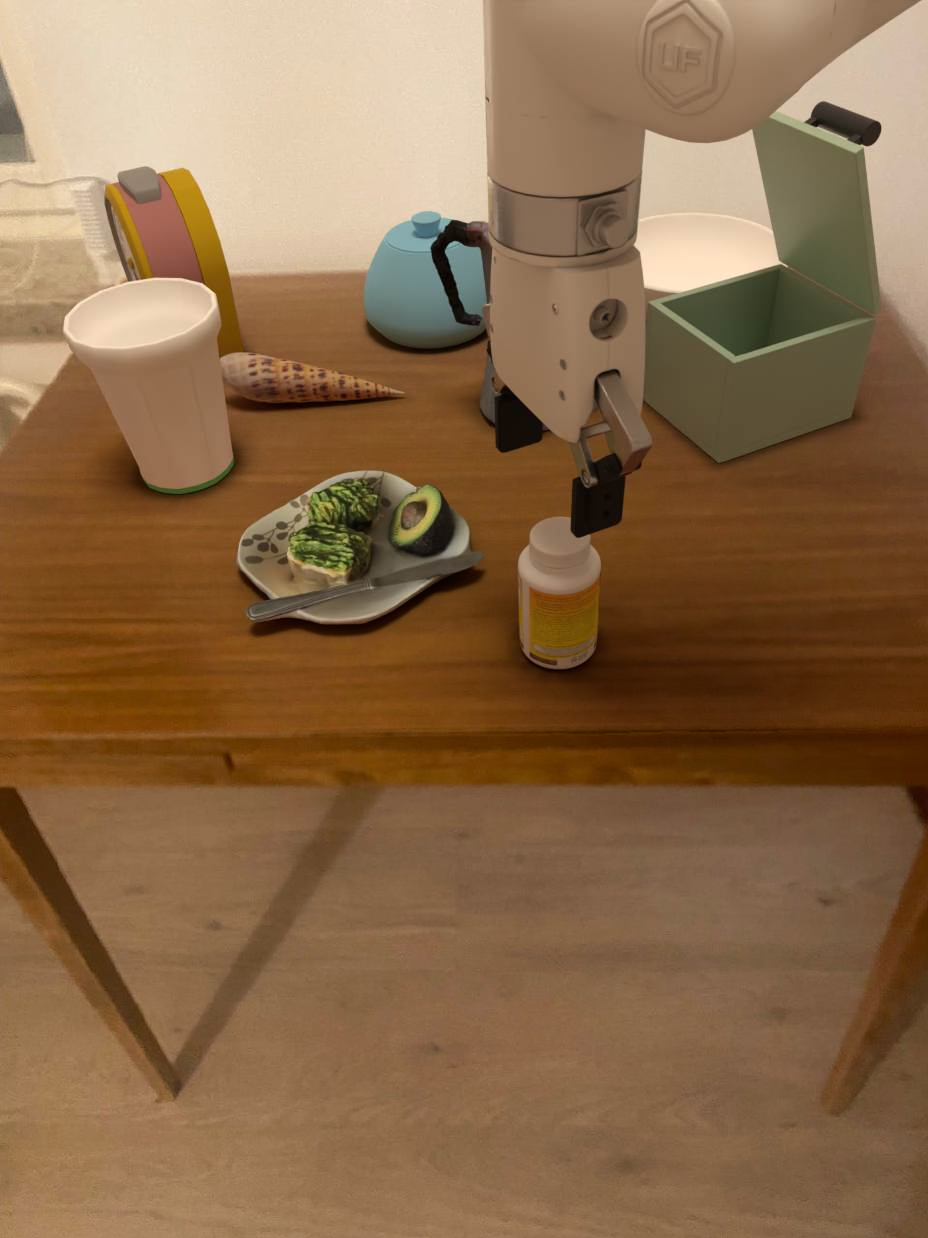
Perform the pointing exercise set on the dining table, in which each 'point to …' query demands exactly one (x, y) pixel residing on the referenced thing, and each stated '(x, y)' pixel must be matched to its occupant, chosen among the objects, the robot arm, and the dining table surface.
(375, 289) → the sugar bowl
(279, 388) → the seashell
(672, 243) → the bowl
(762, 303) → the green hinged box
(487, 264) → the moka pot
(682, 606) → the dining table surface
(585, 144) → the robot arm
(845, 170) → the box lid
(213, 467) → the cup
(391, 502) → the avocado toast plate
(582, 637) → the supplement bottle
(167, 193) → the alarm clock
